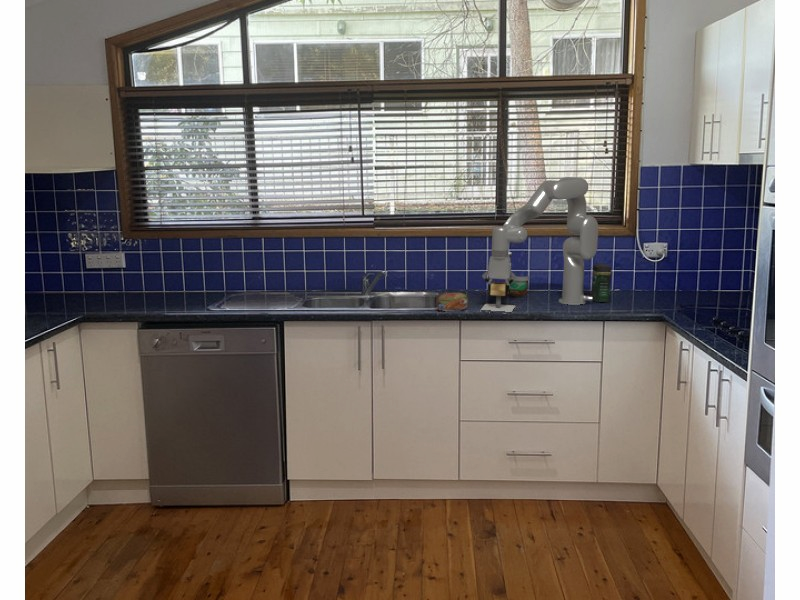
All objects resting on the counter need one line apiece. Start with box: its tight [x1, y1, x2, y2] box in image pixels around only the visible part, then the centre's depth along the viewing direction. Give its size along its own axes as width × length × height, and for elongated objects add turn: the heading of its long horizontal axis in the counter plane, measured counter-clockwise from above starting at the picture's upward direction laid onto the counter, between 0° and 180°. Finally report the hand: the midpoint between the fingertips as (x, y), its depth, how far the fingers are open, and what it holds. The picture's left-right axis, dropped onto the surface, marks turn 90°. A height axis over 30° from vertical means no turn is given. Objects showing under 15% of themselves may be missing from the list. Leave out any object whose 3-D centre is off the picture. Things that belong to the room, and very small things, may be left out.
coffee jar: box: [590, 262, 612, 303], centre depth 335 cm, size 10×8×19 cm
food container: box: [507, 275, 531, 297], centre depth 350 cm, size 12×6×10 cm, turn 73°
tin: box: [435, 291, 470, 311], centre depth 314 cm, size 15×3×8 cm, turn 105°
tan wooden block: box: [489, 281, 507, 297], centre depth 315 cm, size 6×6×5 cm
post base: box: [480, 295, 516, 313], centre depth 316 cm, size 14×14×7 cm
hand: (498, 292), depth 315 cm, fingers closed on tan wooden block, 6 cm apart
